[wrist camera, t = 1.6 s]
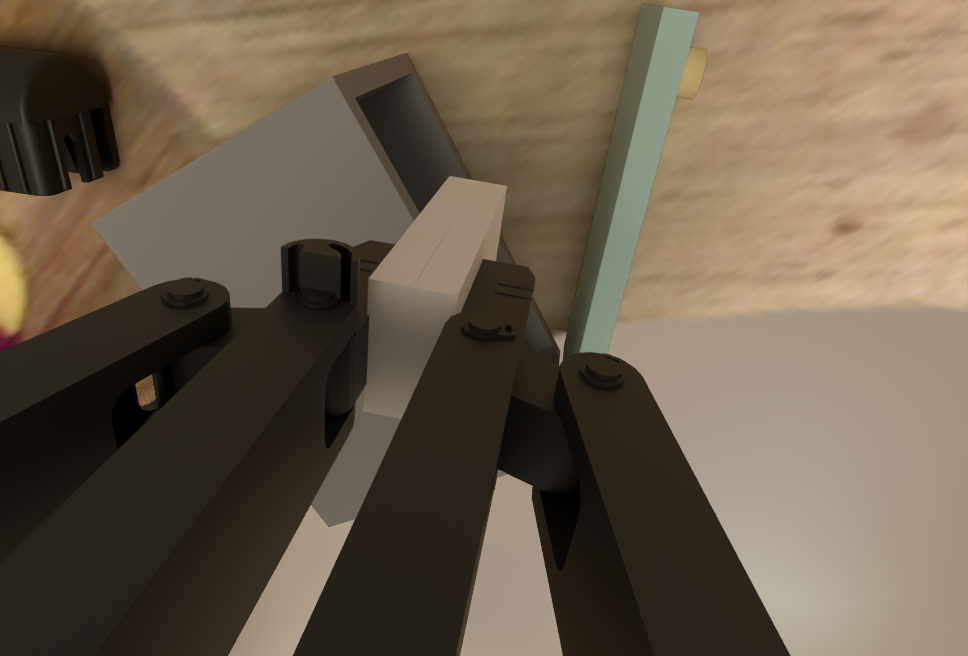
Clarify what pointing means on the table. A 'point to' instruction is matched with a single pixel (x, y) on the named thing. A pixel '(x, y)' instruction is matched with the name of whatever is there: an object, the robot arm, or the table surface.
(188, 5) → the table surface
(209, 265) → the cabinet
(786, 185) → the table surface
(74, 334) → the robot arm
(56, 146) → the end cap
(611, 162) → the pale green rectangular block
